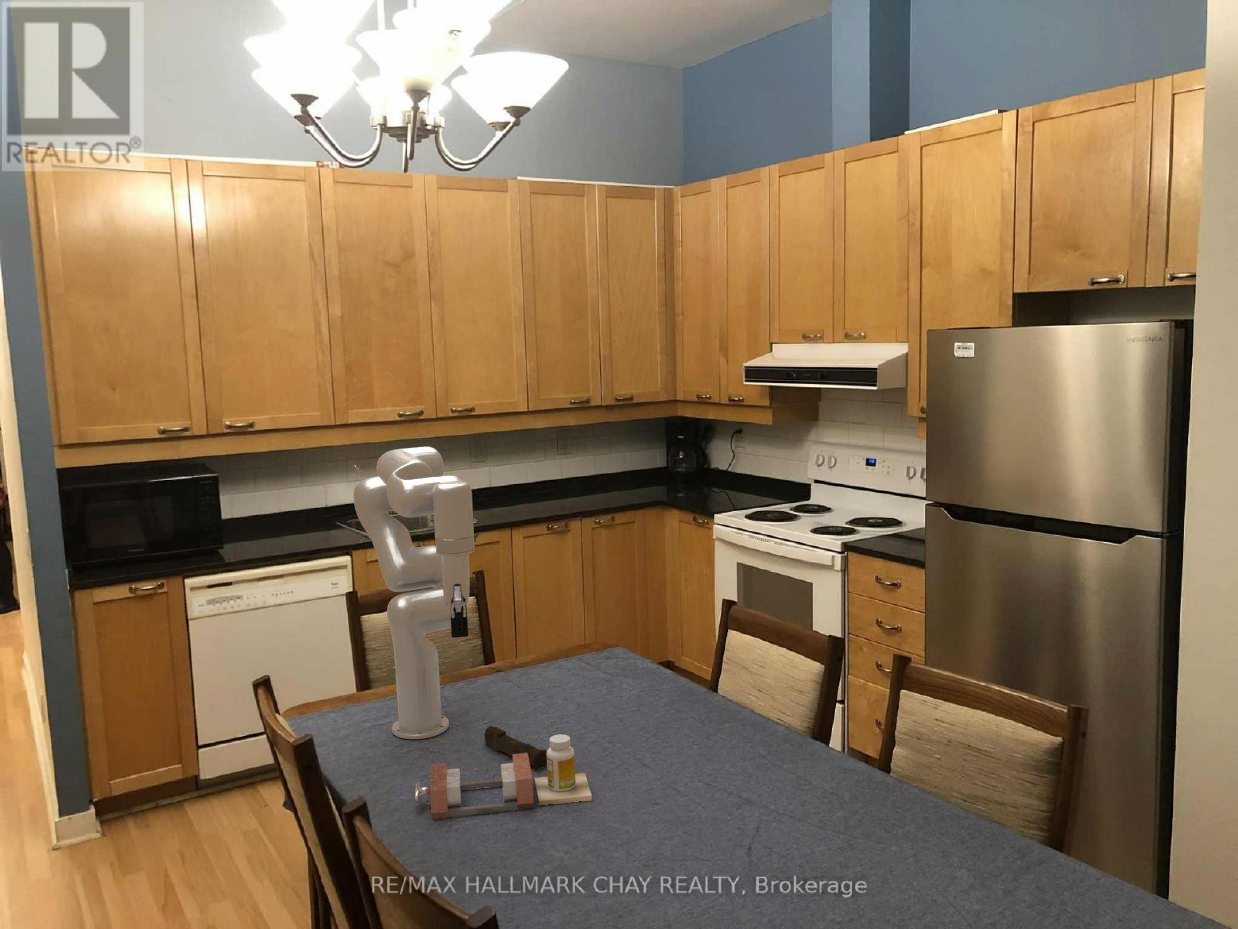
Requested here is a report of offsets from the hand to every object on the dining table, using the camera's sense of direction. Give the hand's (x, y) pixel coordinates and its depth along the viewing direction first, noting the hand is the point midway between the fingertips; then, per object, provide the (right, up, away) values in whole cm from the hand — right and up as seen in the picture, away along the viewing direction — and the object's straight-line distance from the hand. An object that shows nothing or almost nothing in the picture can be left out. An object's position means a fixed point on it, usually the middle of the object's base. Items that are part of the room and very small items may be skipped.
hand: (459, 629), depth 202 cm
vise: (+4, -32, -7) cm, 33 cm away
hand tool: (+9, -29, +12) cm, 33 cm away
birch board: (+21, -31, -5) cm, 37 cm away
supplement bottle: (+20, -30, -5) cm, 36 cm away
